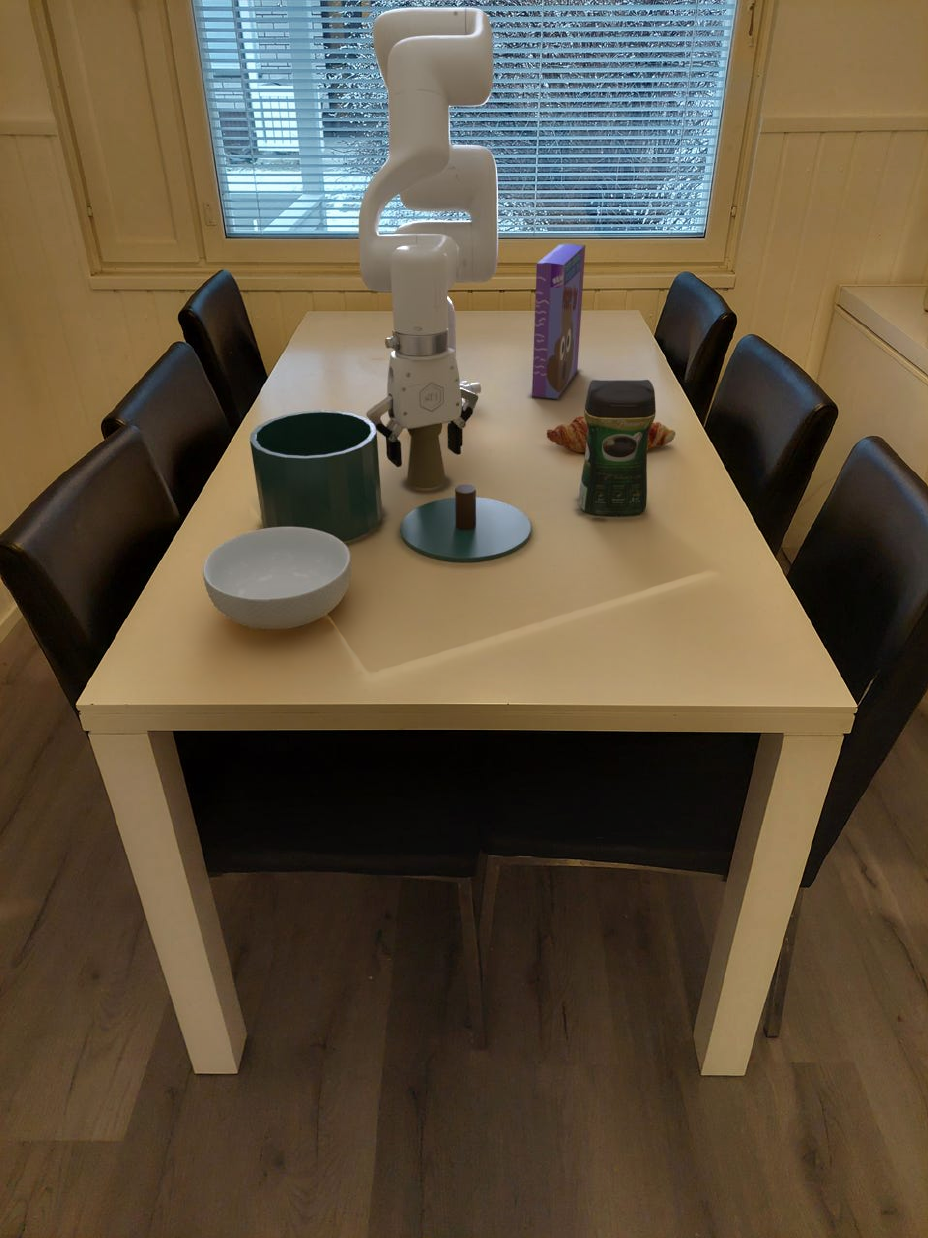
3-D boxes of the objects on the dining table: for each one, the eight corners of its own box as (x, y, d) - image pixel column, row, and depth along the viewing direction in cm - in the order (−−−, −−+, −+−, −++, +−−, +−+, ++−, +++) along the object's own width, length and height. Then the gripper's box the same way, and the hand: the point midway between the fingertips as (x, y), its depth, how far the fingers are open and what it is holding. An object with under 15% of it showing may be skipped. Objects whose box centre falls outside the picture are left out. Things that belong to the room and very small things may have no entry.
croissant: (666, 457, 150) (666, 409, 149) (684, 452, 140) (685, 400, 139) (542, 459, 148) (542, 410, 148) (552, 453, 138) (552, 402, 138)
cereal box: (556, 399, 164) (563, 263, 150) (531, 397, 165) (536, 261, 152) (577, 370, 177) (585, 243, 164) (554, 368, 179) (560, 242, 165)
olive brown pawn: (441, 493, 131) (439, 423, 125) (402, 490, 132) (398, 420, 126) (450, 476, 136) (448, 408, 130) (412, 473, 137) (409, 405, 131)
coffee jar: (641, 495, 130) (655, 371, 120) (648, 520, 123) (663, 391, 113) (575, 495, 130) (583, 371, 120) (579, 520, 124) (588, 391, 113)
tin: (356, 485, 134) (349, 402, 126) (400, 531, 121) (395, 442, 114) (249, 509, 127) (235, 423, 120) (284, 559, 115) (271, 467, 108)
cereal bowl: (289, 669, 95) (281, 614, 91) (181, 624, 103) (170, 572, 99) (382, 597, 107) (379, 546, 103) (280, 561, 115) (273, 513, 111)
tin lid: (491, 494, 131) (492, 452, 127) (555, 546, 117) (558, 500, 114) (380, 520, 124) (377, 477, 120) (435, 578, 111) (434, 531, 107)
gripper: (373, 357, 116) (381, 478, 125) (489, 340, 123) (488, 455, 132) (353, 343, 122) (362, 459, 131) (464, 327, 128) (465, 439, 137)
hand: (425, 457), depth 131 cm, fingers open, 9 cm apart
